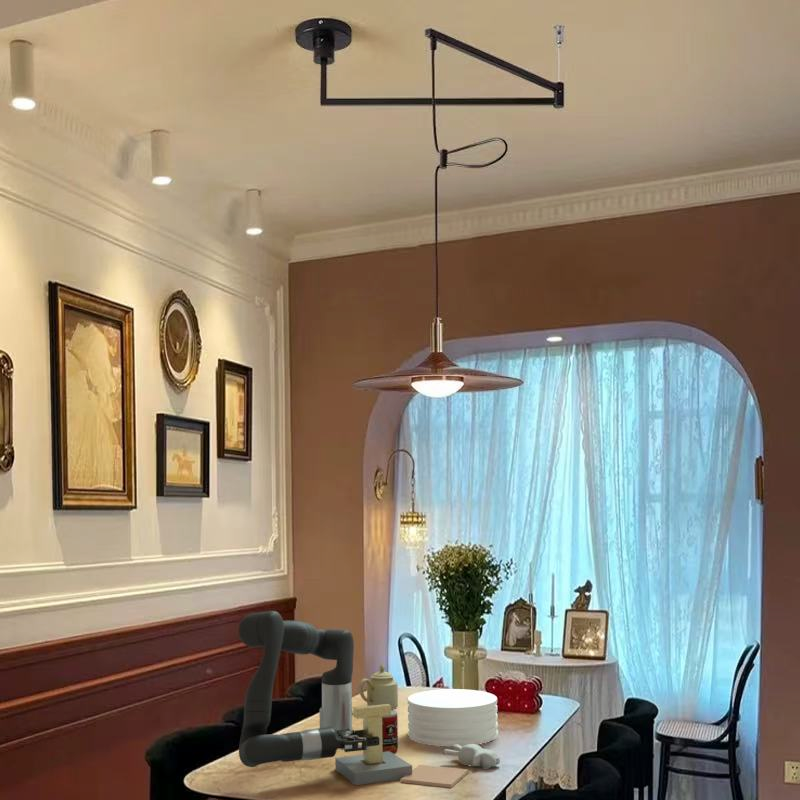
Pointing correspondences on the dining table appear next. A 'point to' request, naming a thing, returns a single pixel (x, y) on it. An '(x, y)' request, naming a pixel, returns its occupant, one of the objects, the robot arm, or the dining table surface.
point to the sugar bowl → (380, 689)
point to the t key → (373, 730)
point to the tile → (435, 776)
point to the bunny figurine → (474, 755)
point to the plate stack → (452, 717)
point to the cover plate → (372, 769)
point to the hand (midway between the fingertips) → (373, 736)
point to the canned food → (390, 732)
